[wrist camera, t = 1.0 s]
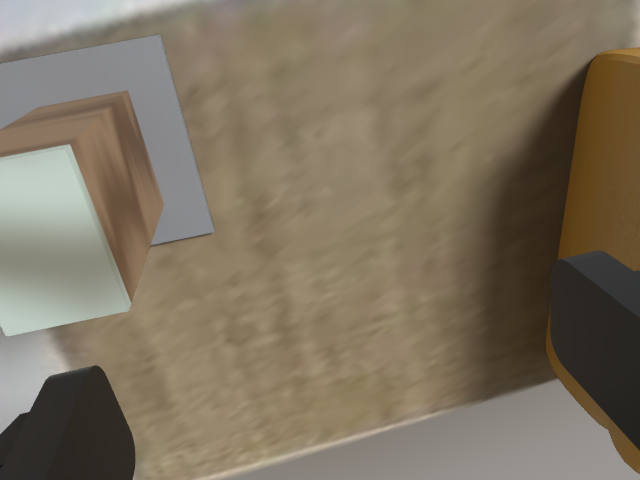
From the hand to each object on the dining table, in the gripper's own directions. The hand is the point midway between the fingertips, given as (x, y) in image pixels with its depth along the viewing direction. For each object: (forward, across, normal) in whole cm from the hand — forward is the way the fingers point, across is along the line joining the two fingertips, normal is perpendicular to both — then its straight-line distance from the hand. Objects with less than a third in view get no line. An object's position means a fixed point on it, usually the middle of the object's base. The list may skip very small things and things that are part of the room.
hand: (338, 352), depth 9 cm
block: (+24, +10, +1) cm, 26 cm away
